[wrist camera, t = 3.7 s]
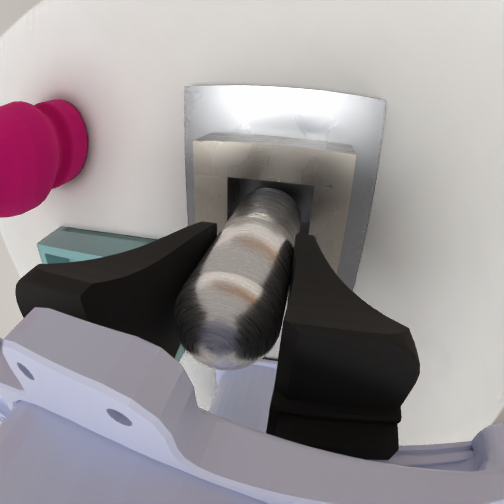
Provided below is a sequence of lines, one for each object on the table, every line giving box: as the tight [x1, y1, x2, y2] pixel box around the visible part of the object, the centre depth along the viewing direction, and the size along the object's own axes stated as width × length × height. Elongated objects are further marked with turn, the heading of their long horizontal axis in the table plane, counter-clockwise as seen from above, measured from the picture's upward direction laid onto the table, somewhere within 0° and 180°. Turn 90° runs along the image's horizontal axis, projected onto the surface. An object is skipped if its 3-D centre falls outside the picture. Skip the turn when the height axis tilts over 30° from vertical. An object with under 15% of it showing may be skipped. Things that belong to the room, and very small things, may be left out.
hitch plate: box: [184, 85, 386, 297], centre depth 16 cm, size 12×10×4 cm
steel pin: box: [174, 188, 301, 370], centre depth 11 cm, size 3×3×8 cm
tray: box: [37, 227, 185, 362], centre depth 22 cm, size 10×10×3 cm
